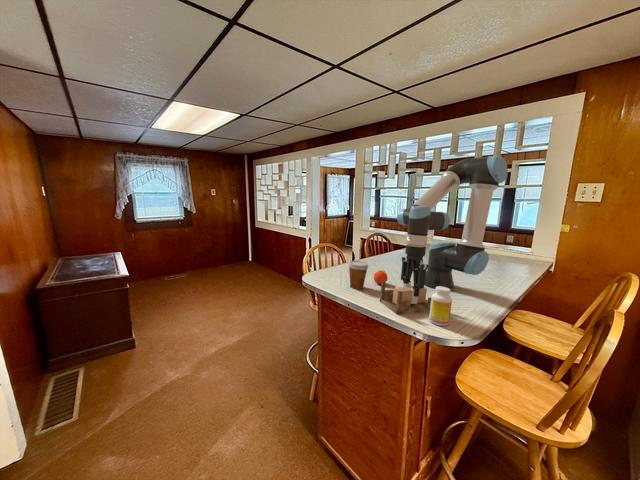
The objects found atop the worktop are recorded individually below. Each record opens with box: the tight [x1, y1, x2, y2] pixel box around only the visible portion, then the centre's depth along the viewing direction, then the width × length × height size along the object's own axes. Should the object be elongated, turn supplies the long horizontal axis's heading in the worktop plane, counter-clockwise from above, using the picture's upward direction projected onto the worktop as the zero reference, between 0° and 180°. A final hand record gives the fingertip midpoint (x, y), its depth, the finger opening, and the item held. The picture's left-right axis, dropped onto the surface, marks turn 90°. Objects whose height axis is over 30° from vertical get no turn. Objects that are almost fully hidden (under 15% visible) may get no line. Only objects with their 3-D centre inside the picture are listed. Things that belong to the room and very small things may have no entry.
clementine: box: [373, 270, 388, 285], centre depth 134 cm, size 8×7×7 cm
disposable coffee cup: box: [347, 260, 369, 290], centre depth 127 cm, size 10×10×12 cm
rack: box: [379, 281, 432, 316], centre depth 107 cm, size 20×13×9 cm, turn 107°
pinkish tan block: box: [392, 285, 428, 304], centre depth 107 cm, size 14×4×6 cm, turn 115°
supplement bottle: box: [428, 286, 453, 327], centre depth 93 cm, size 7×7×13 cm
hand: (409, 300), depth 107 cm, fingers closed on pinkish tan block, 4 cm apart
